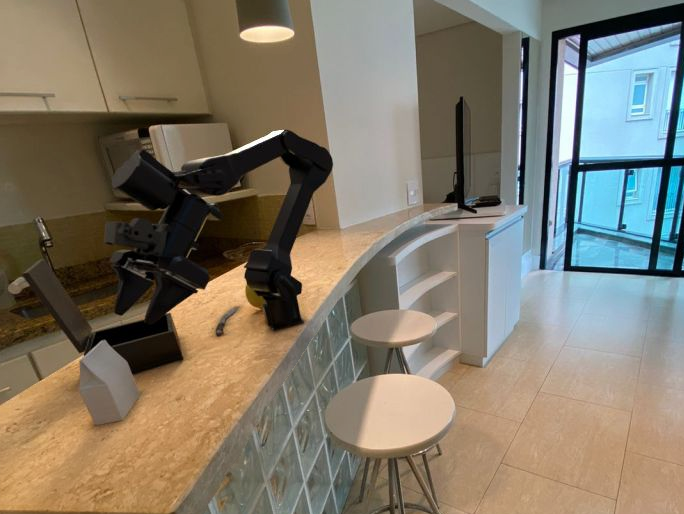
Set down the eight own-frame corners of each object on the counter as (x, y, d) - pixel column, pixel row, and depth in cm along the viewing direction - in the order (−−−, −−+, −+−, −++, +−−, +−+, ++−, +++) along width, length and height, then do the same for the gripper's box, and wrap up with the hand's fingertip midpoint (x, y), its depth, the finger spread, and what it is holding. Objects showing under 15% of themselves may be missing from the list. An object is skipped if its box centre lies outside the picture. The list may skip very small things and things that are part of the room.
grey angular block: (140, 394, 64) (117, 337, 60) (122, 420, 58) (95, 358, 54) (115, 398, 64) (90, 341, 60) (95, 425, 57) (65, 363, 53)
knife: (229, 330, 83) (213, 333, 82) (229, 333, 83) (214, 336, 82) (238, 304, 98) (225, 306, 98) (239, 307, 98) (226, 309, 98)
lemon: (267, 313, 91) (259, 279, 88) (245, 314, 93) (237, 280, 89) (278, 304, 96) (271, 272, 93) (257, 305, 98) (249, 273, 94)
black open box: (179, 338, 84) (170, 312, 81) (183, 359, 74) (173, 331, 72) (102, 359, 78) (91, 331, 76) (96, 385, 68) (83, 355, 66)
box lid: (43, 258, 69) (14, 268, 68) (27, 272, 60) (-8, 284, 58) (92, 328, 76) (66, 339, 74) (84, 351, 66) (54, 364, 65)
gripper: (101, 198, 63) (47, 288, 59) (164, 195, 53) (104, 304, 49) (165, 237, 72) (123, 318, 68) (230, 241, 62) (184, 336, 58)
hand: (132, 318), depth 60 cm, fingers open, 9 cm apart
